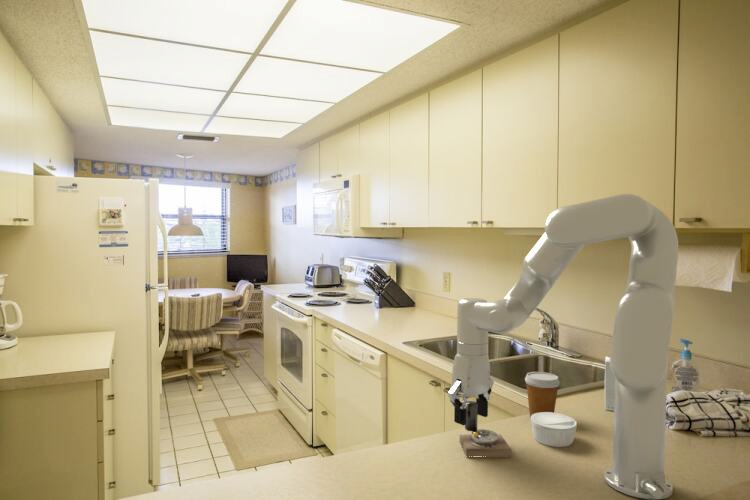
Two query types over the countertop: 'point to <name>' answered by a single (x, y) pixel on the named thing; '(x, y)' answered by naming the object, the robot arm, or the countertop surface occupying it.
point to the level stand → (485, 447)
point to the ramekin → (553, 429)
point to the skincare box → (609, 386)
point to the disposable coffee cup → (541, 391)
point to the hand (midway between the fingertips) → (471, 419)
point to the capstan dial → (471, 425)
